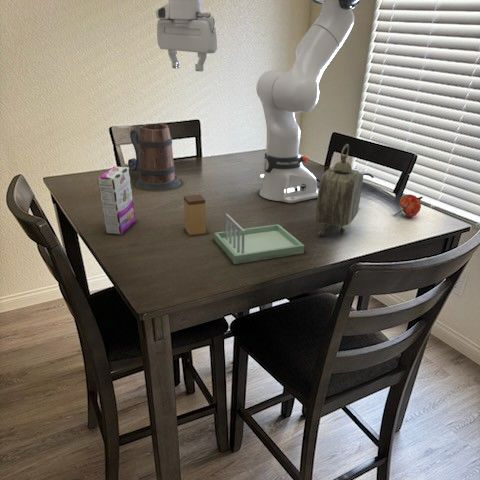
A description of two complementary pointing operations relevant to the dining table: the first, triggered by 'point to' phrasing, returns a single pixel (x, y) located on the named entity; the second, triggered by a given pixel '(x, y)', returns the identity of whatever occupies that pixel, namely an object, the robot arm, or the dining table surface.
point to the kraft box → (195, 214)
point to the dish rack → (256, 242)
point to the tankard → (153, 158)
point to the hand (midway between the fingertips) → (187, 69)
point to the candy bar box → (116, 199)
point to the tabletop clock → (339, 194)
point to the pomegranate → (410, 205)
